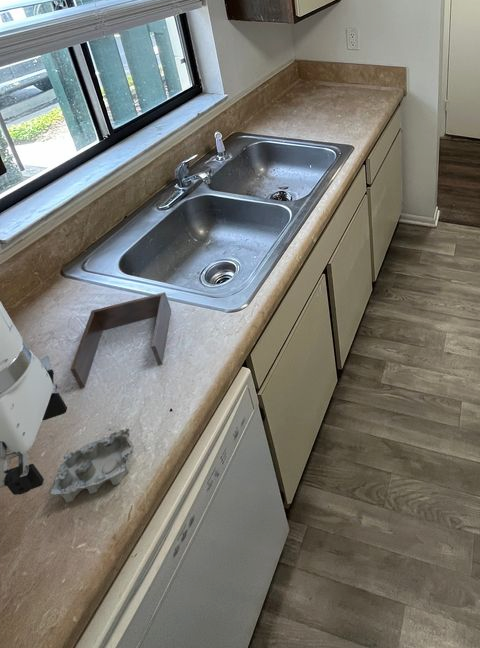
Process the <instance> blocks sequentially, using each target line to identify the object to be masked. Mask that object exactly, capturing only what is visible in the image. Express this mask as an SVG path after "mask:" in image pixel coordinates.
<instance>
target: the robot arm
mask: <svg viewBox="0 0 480 648" xmlns="http://www.w3.org/2000/svg"><path fill="white" fill-rule="evenodd" d="M54 374H55V371H54V370H53V369H52V367H51V361H50V356H49V355H45V356H41V357H39V358H38V357H37V356H36V355H35V354H34V353H33V352H32V351H31V350H30V348H29V347H28V345H27V344H26V342H25V341H24V338H23V337H22V335H21V334H20V332H19V330H18V329H17V327H16V325H15V324H14V322H13V320H12V318H11V317H10V315H9V313H8V312H7V310H6V308H5V307H4V305H3V303H2V301H0V489H2V488H4V487H7V488H8V489H9V491H10V492H11V493H12V494H13V495H14V496H17V495H19V496H20V495H23V494H26V493H29V492H30V491H31V490H34V489H37V488H39V487H41V486H43V484H44V481H45V478H44V476H43V475H42V474H41V473H40V470H39V469H38V468H37V466H36V465H35V464H34V463H30V462H29V460H30V459H29V458H30V457H29V450H30V449H31V448H32V446H33V444H35V443H34V442H35V440H36V439H37V435H38V433H39V430H40V427H41V425H42V421H47V420H49V419H52V418H56V417H58V416H61V415H65V413H67V411H68V406H67V405H66V403H65V401H64V399H63V397H62V396H61V394H60V392H58V390H59V385H58V384H57V383H54V376H55V375H54ZM8 450H9V451H8ZM16 457H17V463H18V466H15V467H12V468H9V461H8V460H10V459H13V458H16Z"/></svg>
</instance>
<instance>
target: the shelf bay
mask: <svg viewBox="0 0 480 648" xmlns="http://www.w3.org/2000/svg"><path fill="white" fill-rule="evenodd" d="M171 314H172V307H171V305H170V302H169V299H168V296H167V294H166V291H164V292H160V293H156V294H152V295H148V296H145V297H139V298H136V299H132V300H129V301H125V302H119V303H116V304H113V305H109V306H104V307H101V308H97V309H93V310H91V311H90V314H89V317H88V320H87V322H86V325H85V328H84V331H83V333H82V336H81V339H80V341H79V344H78V347H77V350H76V352H75V356H74V359H73V361H72V363H71V367H70V372H71V374H72V376H73V378H74V379H75V382H76V383H77V386H78V387H79V389H84V388H86V384H87V380H88V378H89V375H90V371H91V368H92V366H93V362H94V359H95V356H96V353H97V349H98V347H99V346H98V345H99V343H100V341H101V336H102V334H103V331H105V330H106V331H107V330H110V329H114V328H117V327H121V326H124V325H128V324H132V323H136V322H140V321H143V319H144V320H147V319H151V318H154V317H156V320H155V323H154V324H155V326H154V329H153V335H152V340H151V345H150V348H151V350H152V353H153V356H154V358H155V361H156V363H157V366H162V365H163V363H164V356H165V352H166V351H165V350H166V344H167V338H168V332H169V326H170V325H169V324H170V321H171Z"/></svg>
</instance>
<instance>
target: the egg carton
mask: <svg viewBox="0 0 480 648" xmlns="http://www.w3.org/2000/svg"><path fill="white" fill-rule="evenodd" d="M130 435H131V430H130V428H125V429H120V430H117V431H115V432H113V433H111V434H110V435H109V436H106V437H102V438H101V439H98V440H95V441H92V442H89V443H87V444H85V445H83V446H82V447H80V448H78V449H76V450H75V451H73V452H71V451H70V452H67V453H66V454H64V456H63V461H62V463H61V464H60V465H59V466H60V467H59V470H58V472H57V475H56V477H55V480H54V484H53V487H52V489H51V492H50V494H51V495H58V496H59V498H63V500H64V501H65V502H66V504H67V503H71V502H73V501H74V500H75V498H76V496H77V495H79V493H80V492H81V491H83V490H87V491H88V493H89V494H90V495H92V494H94V493H95V494H96V493H97V492H98V491H99V489H100V487H101V486H102V485H103V484H105V483H106V482H107V481H111V484H112V485H113V486H116V485H118V484H120V483H121V481H122V480H123V478H124V477H125V476H126V475H127V474H128V473H130V469H131V465H130V463H129V461H128V456H129V455H130V454H132V453H133V452H134V449H135V448H134V447H135V445H134V444H133V442H132V441H131V439H130Z"/></svg>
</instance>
